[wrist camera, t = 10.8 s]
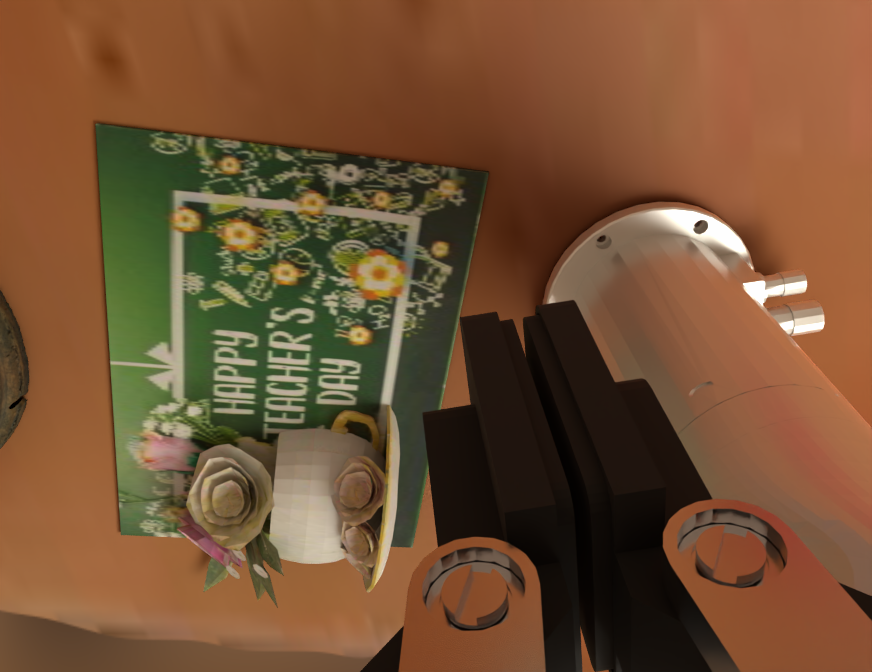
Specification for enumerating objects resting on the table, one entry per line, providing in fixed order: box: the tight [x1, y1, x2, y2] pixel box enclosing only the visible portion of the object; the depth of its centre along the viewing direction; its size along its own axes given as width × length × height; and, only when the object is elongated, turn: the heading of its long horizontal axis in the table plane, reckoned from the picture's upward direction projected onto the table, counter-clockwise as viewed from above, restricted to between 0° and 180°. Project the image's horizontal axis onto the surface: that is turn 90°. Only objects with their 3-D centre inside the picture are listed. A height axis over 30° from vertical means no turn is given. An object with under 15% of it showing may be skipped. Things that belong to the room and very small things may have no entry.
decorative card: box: [95, 123, 489, 608], centre depth 46 cm, size 33×8×20 cm
